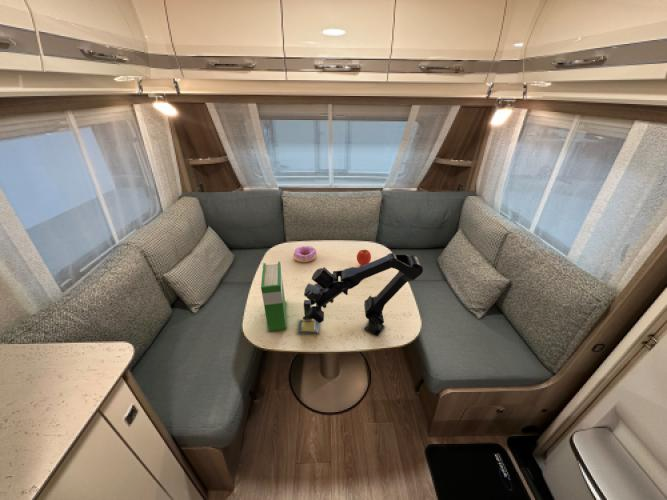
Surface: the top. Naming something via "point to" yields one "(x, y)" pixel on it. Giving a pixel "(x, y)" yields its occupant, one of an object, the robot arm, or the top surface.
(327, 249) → the top surface
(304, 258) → the donut
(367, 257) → the apple
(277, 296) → the hardback book
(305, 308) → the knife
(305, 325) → the butter dish
